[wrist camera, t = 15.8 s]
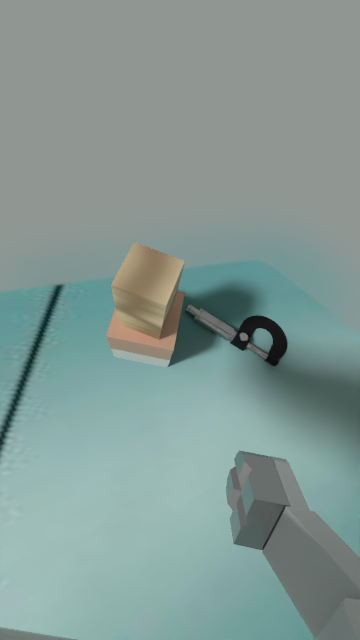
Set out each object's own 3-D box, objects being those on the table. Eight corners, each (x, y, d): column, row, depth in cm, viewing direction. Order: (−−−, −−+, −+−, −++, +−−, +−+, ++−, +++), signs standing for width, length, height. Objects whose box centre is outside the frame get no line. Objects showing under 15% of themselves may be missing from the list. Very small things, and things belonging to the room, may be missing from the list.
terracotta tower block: (179, 308, 33) (184, 292, 30) (169, 360, 30) (173, 350, 27) (125, 296, 33) (124, 279, 29) (110, 347, 30) (106, 336, 26)
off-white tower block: (176, 319, 37) (180, 307, 33) (167, 367, 34) (170, 359, 31) (127, 309, 37) (126, 295, 33) (114, 357, 34) (111, 347, 30)
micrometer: (290, 334, 39) (300, 327, 37) (272, 373, 36) (282, 369, 34) (206, 282, 41) (210, 273, 38) (182, 315, 38) (185, 308, 35)
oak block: (173, 304, 29) (184, 261, 22) (159, 339, 27) (166, 305, 20) (135, 290, 29) (134, 242, 22) (118, 324, 27) (111, 284, 20)
